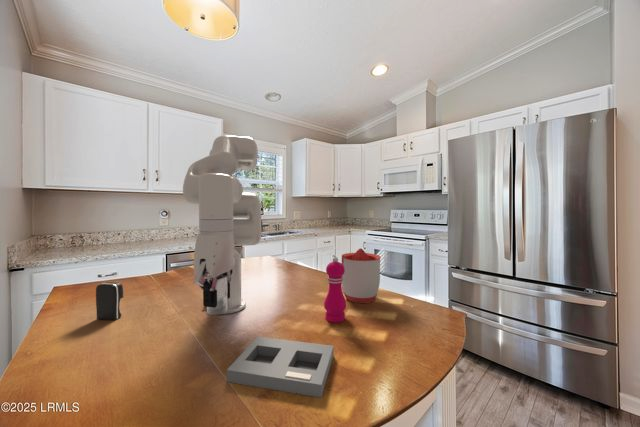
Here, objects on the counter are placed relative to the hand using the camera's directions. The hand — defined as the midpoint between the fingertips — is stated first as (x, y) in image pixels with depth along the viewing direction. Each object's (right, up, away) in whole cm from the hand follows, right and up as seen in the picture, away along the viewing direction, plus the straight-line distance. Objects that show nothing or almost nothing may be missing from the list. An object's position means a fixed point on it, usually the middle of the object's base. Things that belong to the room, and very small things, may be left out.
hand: (217, 301), depth 61 cm
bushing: (0, -2, 0) cm, 2 cm away
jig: (+17, -14, -4) cm, 22 cm away
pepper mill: (+30, -13, +22) cm, 39 cm away
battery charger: (-43, -13, +22) cm, 50 cm away
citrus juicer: (+40, -13, +40) cm, 58 cm away
